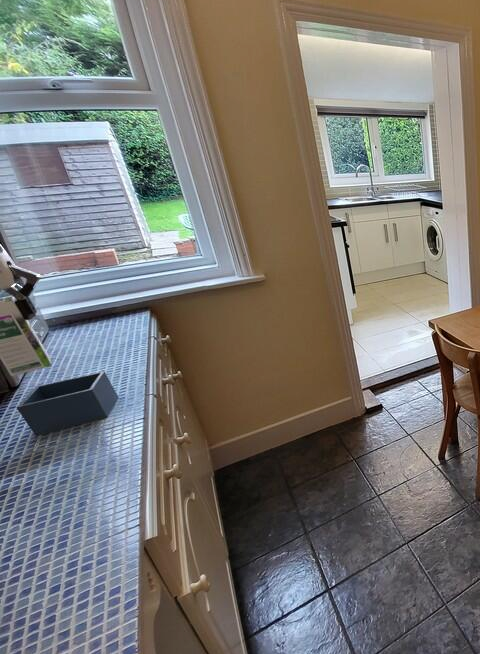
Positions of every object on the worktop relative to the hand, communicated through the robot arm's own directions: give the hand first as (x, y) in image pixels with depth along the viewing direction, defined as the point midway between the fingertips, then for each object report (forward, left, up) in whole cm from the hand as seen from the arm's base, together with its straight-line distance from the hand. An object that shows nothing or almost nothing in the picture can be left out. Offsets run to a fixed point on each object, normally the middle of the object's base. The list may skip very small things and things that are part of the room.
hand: (3, 321), depth 79 cm
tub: (-1, +8, -27) cm, 28 cm away
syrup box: (0, 0, -10) cm, 10 cm away
